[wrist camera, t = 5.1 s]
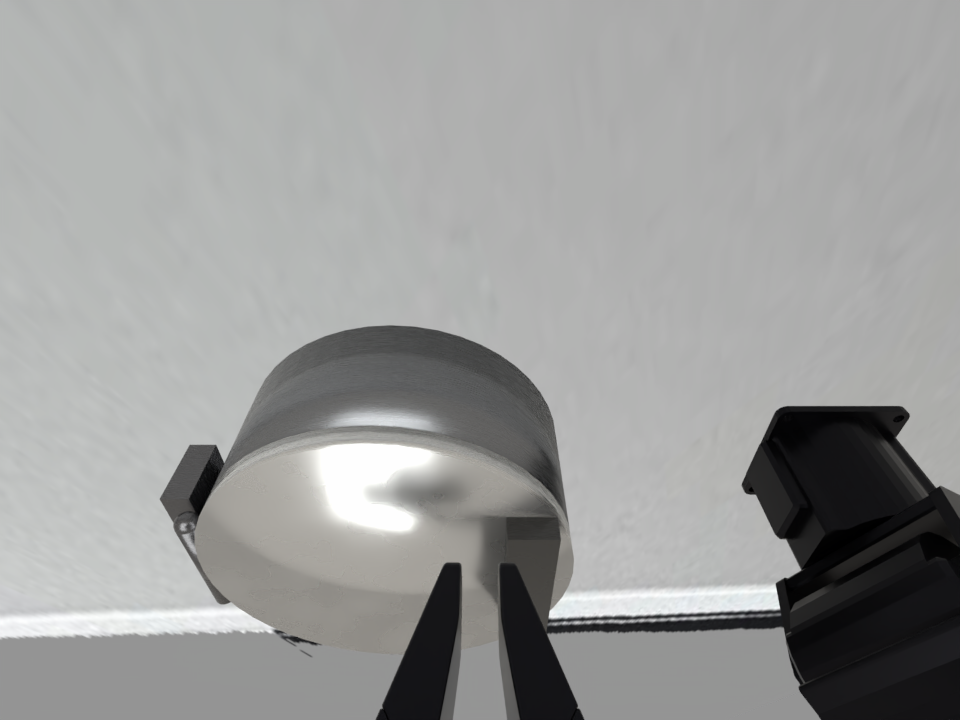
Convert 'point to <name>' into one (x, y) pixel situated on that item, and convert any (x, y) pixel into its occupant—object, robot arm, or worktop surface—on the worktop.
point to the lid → (375, 535)
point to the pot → (387, 403)
